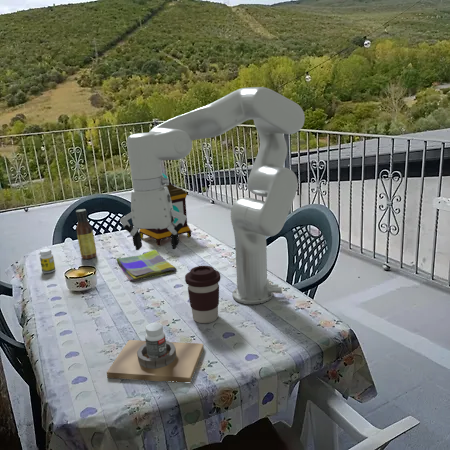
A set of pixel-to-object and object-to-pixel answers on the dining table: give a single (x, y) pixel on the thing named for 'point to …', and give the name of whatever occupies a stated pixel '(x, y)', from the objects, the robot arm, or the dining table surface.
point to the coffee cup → (203, 293)
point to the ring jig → (157, 362)
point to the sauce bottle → (85, 235)
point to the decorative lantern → (179, 206)
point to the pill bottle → (155, 341)
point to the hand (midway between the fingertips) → (156, 248)
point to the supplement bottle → (47, 261)
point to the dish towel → (145, 266)
